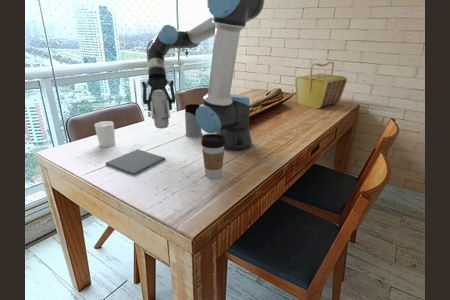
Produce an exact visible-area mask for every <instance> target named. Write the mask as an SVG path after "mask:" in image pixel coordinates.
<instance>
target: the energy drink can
mask: <svg viewBox="0 0 450 300" xmlns="http://www.w3.org/2000/svg"><path fill="white" fill-rule="evenodd" d="M152 105H153V115H154V119H153V121H154V122H153V123H154V126H155V128H156V129H166V128H168V127H169V124H170V123H169V121H170V120H169V118H168V110H167V96H166V94H165V91H162V90H155V91H154V92H153V94H152Z"/></svg>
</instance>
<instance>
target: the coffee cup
mask: <svg viewBox="0 0 450 300" xmlns="http://www.w3.org/2000/svg"><path fill="white" fill-rule="evenodd" d="M200 143H201V146H202V156H203V166H204V173H205V177H206V178H207V179H211V180H217V179H219V178H221V177H222V174H223V166H224V157H225V149H224V146H225V137H224V136H222V135H221V134H217V133H206V134H202V136H201V142H200Z"/></svg>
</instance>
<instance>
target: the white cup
mask: <svg viewBox="0 0 450 300" xmlns="http://www.w3.org/2000/svg"><path fill="white" fill-rule="evenodd" d="M114 125H115V124H114V122H113V121H111V120H110V121H109V120H107V121H106V120H105V121H104V120H103V121H100V122H96V123H94V129H95V133H96V137H97V141H98V144H99V146H100V147H102V148H106V147H107V148H108V147H112V146H114V145H116V138H115V137H116V136H115V135H116V133H115V126H114Z"/></svg>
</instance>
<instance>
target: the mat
mask: <svg viewBox="0 0 450 300" xmlns="http://www.w3.org/2000/svg"><path fill="white" fill-rule="evenodd" d="M165 160H166V158H165V157H163V156H161V155H158V154H154V153H151V152H148V151H145V150H142V149H138V148H137V149H135V150H133V151H130V152H128V153H125V154H123V155H120V156H118V157H116V158H114V159H111V160H109V161H107V162H105V165H106V166H108V167H111V168H114V169H116V170H118V171H121V172H124V173H126V174H129V175H131V176H136V175H138V174H140V173H142V172H144V171H146V170H148V169H150V168H152V167H154V166H156V165H158V164H159V163H162V162H164V161H165Z"/></svg>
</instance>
